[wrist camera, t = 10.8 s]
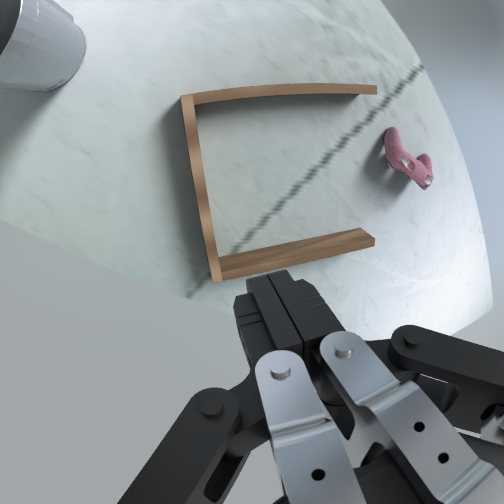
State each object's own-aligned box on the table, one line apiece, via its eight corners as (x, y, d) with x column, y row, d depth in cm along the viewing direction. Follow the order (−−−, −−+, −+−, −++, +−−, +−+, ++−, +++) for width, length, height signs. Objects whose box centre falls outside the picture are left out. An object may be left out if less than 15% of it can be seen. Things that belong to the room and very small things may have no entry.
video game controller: (370, 143, 40) (387, 171, 36) (389, 122, 37) (409, 148, 32) (410, 172, 44) (427, 200, 39) (428, 154, 41) (447, 181, 36)
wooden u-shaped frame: (180, 97, 30) (180, 95, 27) (359, 85, 34) (376, 85, 31) (209, 267, 41) (213, 282, 38) (360, 234, 45) (374, 246, 41)
